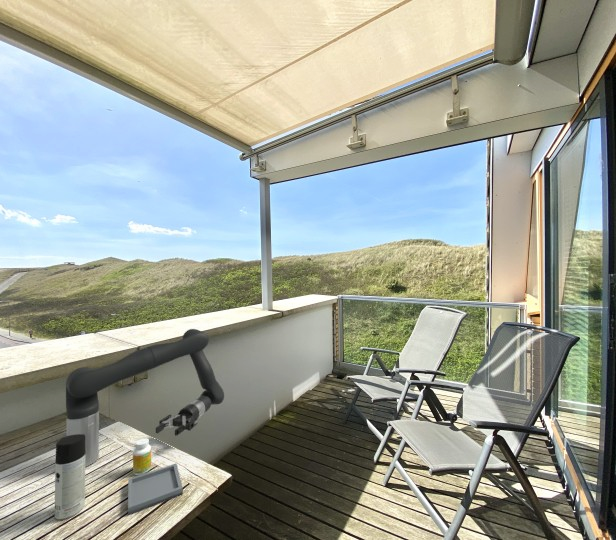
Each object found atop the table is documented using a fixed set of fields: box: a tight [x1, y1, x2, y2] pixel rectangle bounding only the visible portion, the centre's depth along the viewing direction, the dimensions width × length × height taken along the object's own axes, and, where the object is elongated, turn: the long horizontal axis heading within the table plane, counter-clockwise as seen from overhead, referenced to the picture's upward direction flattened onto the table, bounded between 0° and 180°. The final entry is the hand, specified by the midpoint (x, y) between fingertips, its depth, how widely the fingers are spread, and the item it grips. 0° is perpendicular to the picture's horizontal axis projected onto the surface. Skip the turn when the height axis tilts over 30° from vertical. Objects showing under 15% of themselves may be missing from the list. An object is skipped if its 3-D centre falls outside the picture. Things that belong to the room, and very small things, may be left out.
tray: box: [127, 463, 184, 516], centre depth 90 cm, size 14×14×2 cm
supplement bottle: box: [132, 437, 152, 476], centre depth 99 cm, size 5×5×10 cm
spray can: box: [53, 434, 86, 521], centre depth 82 cm, size 7×7×20 cm
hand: (165, 432), depth 110 cm, fingers open, 8 cm apart
